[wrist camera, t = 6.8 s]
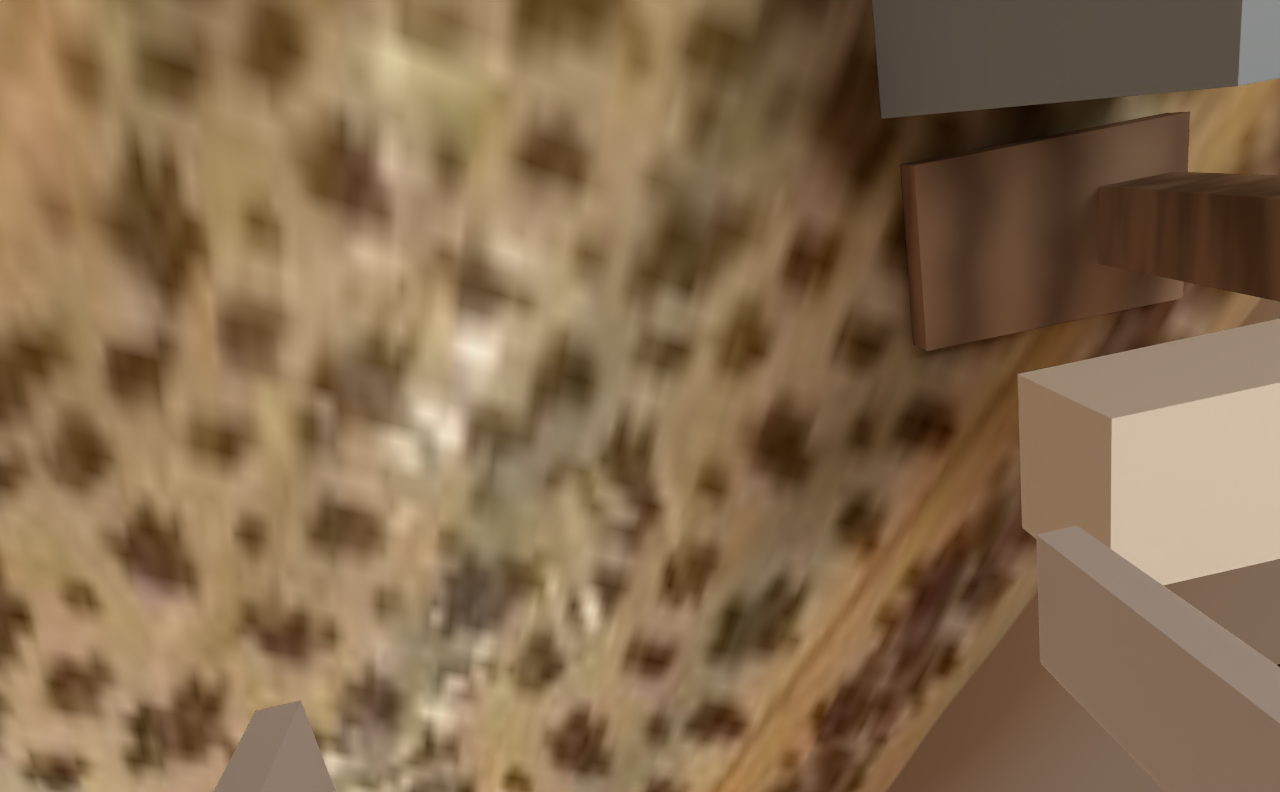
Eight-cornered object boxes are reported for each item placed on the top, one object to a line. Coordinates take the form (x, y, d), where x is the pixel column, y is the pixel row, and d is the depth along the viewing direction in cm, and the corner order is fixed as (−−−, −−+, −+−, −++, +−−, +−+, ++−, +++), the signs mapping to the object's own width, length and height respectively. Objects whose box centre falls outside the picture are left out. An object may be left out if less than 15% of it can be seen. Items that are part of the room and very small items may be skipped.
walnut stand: (913, 344, 54) (1316, 557, 26) (900, 164, 51) (1353, 184, 22) (1161, 292, 55) (1811, 444, 27) (1166, 113, 52) (1926, 68, 23)
